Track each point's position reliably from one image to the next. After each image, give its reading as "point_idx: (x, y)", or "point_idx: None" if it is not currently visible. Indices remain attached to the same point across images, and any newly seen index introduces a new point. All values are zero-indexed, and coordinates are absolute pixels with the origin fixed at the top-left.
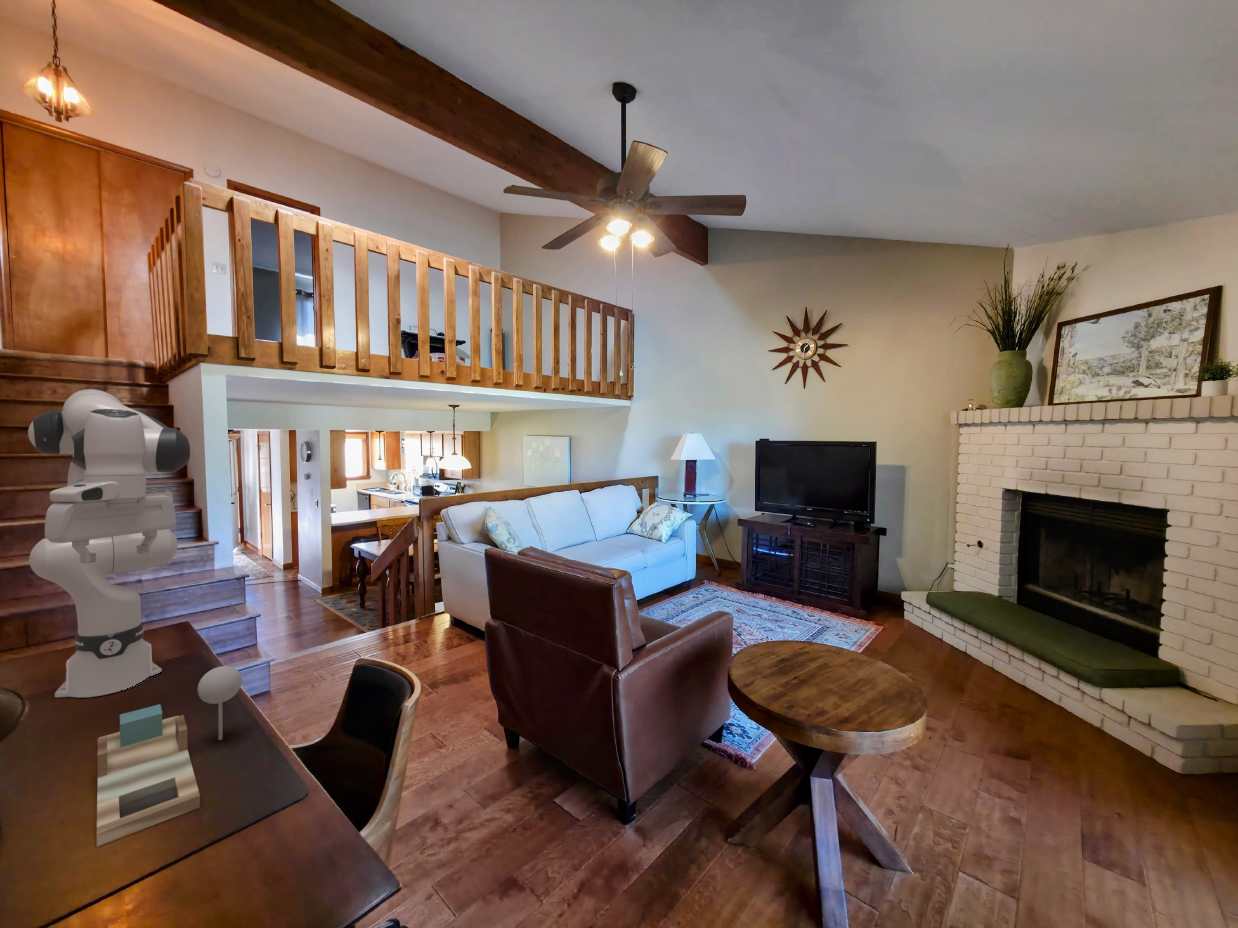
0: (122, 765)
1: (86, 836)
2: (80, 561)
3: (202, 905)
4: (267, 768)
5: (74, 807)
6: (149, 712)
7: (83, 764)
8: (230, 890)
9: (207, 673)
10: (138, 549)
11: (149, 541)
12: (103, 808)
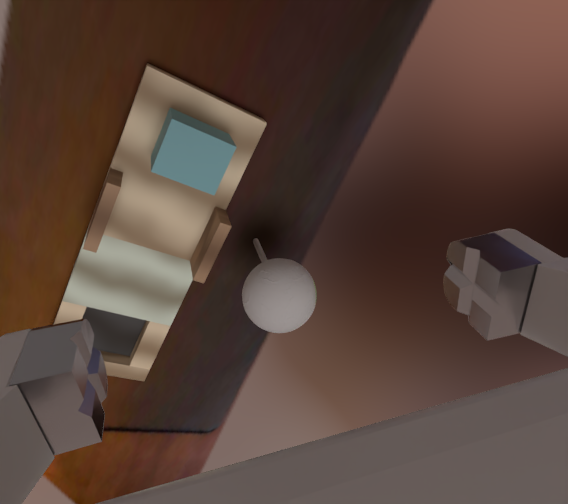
0: (125, 225)
1: (42, 322)
2: (1, 342)
3: (73, 485)
4: (229, 360)
5: (52, 243)
6: (205, 168)
7: (105, 110)
8: (95, 486)
9: (268, 306)
10: (478, 257)
11: (557, 349)
12: (63, 318)
